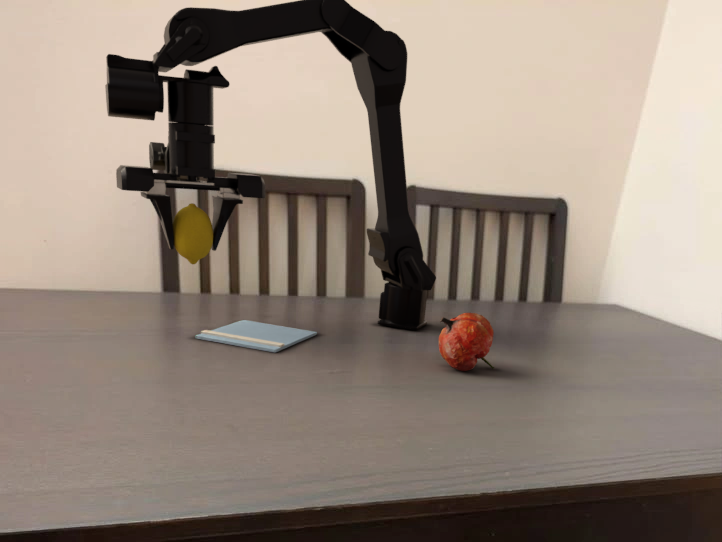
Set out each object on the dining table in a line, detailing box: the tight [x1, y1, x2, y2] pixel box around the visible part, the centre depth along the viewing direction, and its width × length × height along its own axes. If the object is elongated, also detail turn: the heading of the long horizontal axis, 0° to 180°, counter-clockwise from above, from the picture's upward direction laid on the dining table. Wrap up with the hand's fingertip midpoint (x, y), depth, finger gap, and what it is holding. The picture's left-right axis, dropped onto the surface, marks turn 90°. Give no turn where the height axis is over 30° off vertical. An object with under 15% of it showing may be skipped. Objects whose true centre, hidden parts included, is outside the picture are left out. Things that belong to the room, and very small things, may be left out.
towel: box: [194, 319, 318, 354], centre depth 101 cm, size 12×13×1 cm
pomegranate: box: [438, 312, 495, 372], centre depth 93 cm, size 7×7×10 cm
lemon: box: [172, 202, 213, 265], centre depth 100 cm, size 6×6×8 cm
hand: (193, 249), depth 100 cm, fingers closed on lemon, 5 cm apart
